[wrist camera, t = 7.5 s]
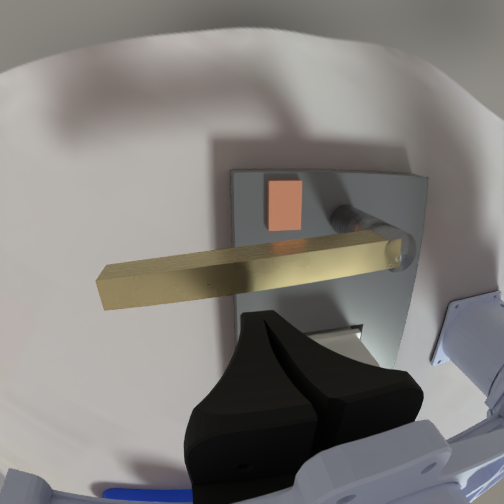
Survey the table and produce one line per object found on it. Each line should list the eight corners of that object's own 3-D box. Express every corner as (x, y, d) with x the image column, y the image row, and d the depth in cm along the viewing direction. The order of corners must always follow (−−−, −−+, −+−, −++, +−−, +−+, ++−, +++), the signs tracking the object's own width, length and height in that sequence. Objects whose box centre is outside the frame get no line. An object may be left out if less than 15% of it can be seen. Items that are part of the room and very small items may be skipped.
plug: (347, 315, 25) (385, 362, 19) (337, 377, 27) (364, 425, 21) (294, 322, 25) (322, 375, 18) (289, 385, 27) (310, 439, 21)
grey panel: (412, 173, 22) (431, 178, 20) (372, 393, 29) (382, 407, 27) (230, 169, 20) (234, 173, 18) (239, 417, 27) (242, 436, 25)
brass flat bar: (358, 233, 20) (414, 269, 14) (131, 263, 18) (106, 316, 13) (358, 203, 20) (418, 230, 14) (125, 231, 18) (93, 274, 12)
